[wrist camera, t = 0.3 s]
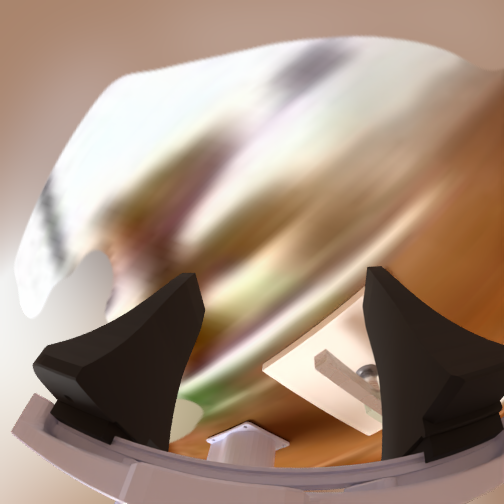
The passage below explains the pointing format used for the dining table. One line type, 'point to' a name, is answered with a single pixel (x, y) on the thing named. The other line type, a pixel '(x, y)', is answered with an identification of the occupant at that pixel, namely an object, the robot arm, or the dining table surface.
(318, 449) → the dining table surface
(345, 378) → the t key
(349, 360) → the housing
